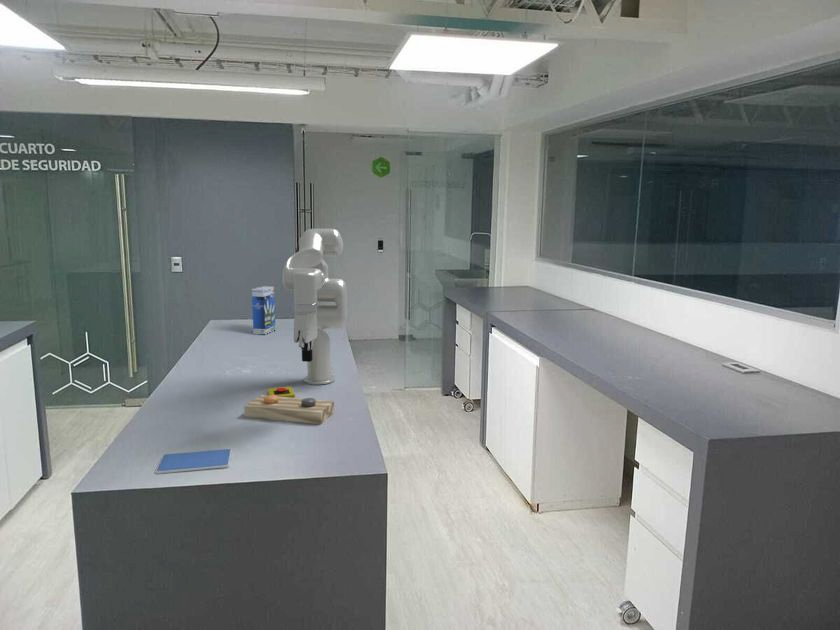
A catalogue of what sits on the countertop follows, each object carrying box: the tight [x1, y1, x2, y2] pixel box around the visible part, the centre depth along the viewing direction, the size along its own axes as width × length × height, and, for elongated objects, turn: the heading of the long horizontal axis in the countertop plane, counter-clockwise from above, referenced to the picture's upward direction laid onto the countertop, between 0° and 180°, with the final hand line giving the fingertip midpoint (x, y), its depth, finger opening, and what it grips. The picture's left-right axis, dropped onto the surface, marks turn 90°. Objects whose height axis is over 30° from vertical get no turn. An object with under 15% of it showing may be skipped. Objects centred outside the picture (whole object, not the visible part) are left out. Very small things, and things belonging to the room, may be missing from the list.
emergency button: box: [266, 386, 296, 398], centre depth 229 cm, size 9×4×15 cm
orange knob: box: [264, 395, 278, 404], centre depth 212 cm, size 5×5×6 cm
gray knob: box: [301, 397, 317, 407], centre depth 209 cm, size 5×5×6 cm
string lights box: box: [251, 285, 276, 335], centre depth 343 cm, size 13×8×26 cm, turn 167°
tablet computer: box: [154, 448, 233, 475], centre depth 172 cm, size 19×13×1 cm, turn 103°
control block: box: [243, 394, 335, 425], centre depth 211 cm, size 12×28×4 cm, turn 77°
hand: (307, 360), depth 208 cm, fingers closed
